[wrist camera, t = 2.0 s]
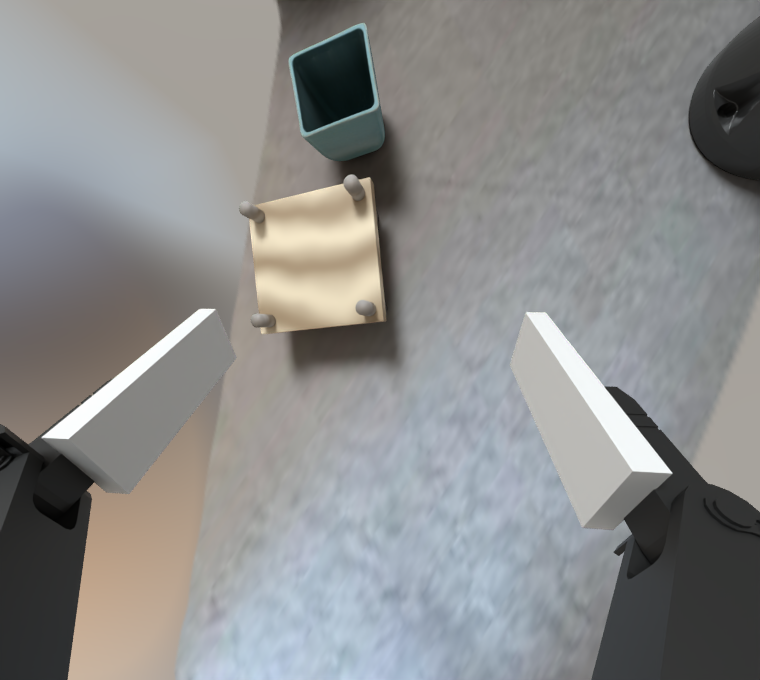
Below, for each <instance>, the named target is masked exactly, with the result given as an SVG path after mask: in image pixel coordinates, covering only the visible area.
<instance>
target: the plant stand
mask: <svg viewBox="0 0 760 680" xmlns="http://www.w3.org/2000/svg"><path fill="white" fill-rule="evenodd" d="M239 211H240V213H241V214H242V215H244V216H246V217H247V218H249V221H250V231H251V240H252V250H253V260H254V269H255V279H256V289H257V298H258V308H259V314H254V315H253V316H252V317H251V323H252V325H253V326H254V327H261V334H272V333H281V332H290V331H300V330H309V329H319V328H328V327H337V326H347V325H356V324H365V323H375V322H384V321H387V320H386V312H387V305H386V303H385V299H384V288H383V278H382V267H381V256H380V246H379V235H378V225H377V223H378V219H379V217H378V214H377V212H376V204H375V193H374V184H373V182H372V180H371V178H370V177H368V178H364V179H360V180H358V179H357V177H356V176H355V175H348V176H347V177H346V178H345V179H344V182H343V184H340V185H335V186H331V187H327V188H323V189H319V190H315V191H311V192H307V193H303V194H299V195H295V196H291V197H286V198H282V199H278V200H274V201H270V202H266V203H262V204H258V205H252V204H251V203H249V202H247V201H244V202H242V203H241V204H240V207H239Z"/></svg>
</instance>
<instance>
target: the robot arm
mask: <svg viewBox="0 0 760 680" xmlns="http://www.w3.org/2000/svg"><path fill="white" fill-rule="evenodd" d="M689 120H690V128H691V132H692V135H693V138H694V140H695V142H696V144H697V146H698V147H699V149H700V150H701V152H702V153H703V154H704V155H705V156H706V157H707V158H708V159H709V160H710V161H711V162H712V163H714V164H715V165H716V166H718V167H720V168H721V169H723V170H725V171H727V172H729V173H732V174H735V175H738V176H741V177H745V178H750V179H758V180H760V16H759V17H758V18H757V19H755V20H754V21H753V22H752V23H750V24H749V25H748V26H747V27H746V28H744V29H743V30H742V31H741V32H740V33H739V34H738V35H737V36H736V37H735V38H734V39H733V40H732V41H731V42H730V43H729V44H728V45H727V46H726V47H725V48H724V49H723V50H722V51H721V52H720V53H719V54H718V55H717V56H716V57H715V59H714V60H713V61H712V62H711V63H710V64H709V66H708V67H707V68H706V70H705V71H704V73H703V74H702V76H701V78H700V79H699V81H698V83H697V85H696V88H695V90H694V93H693V96H692V100H691V104H690V113H689ZM236 358H237V357H236V355H235V353H234V350H233V348H232V346H231V343H230V341H229V338H228V336H227V334H226V331H225V329H224V327H223V324H222V322H221V320H220V317H219V315H218V313H217V310H216V309H199V310H198V311H197V312H196V313H194V314H193V315H192V316H191V317H189V318H188V319H187V320H186V321H184V322H183V323H182V324H181V325H179V326H178V327H177V328H176V329H174V330H173V331H172V332H171V333H169V334H168V335H167V336H166V337H165V338H163V339H162V340H161V341H160V342H158V343H157V344H156V345H155V346H154V347H152V348H151V349H150V350H148V351H147V352H146V353H145V354H144V355H143V356H141V357H140V358H139V359H138V360H136V361H135V362H134V363H132V364H131V365H130V366H129V367H128V368H126V369H125V370H124V371H123V372H121V373H120V374H119V375H118V376H116V377H115V378H113V379H111V380H109V381H107V382H106V383H105V384H104V385H102V386H101V387H100V388H99V389H97V390H96V391H95V392H94V393H93V395H90V396H89V397H87V398H86V399H85V400H84V401H82V402H81V405H78V406H76V407H75V408H74V409H72V410H71V411H70V412H69V413H67V414H66V415H65V416H64V417H63V418H61V419H60V420H59V421H58V422H56V423H55V424H54V425H52V426H51V427H50V428H49V429H48V430H46V431H45V432H44V433H43V434H41V435H40V436H39V437H38V438H36V439H35V440H34V441H32V442H31V443H30V444H27V443H25V442H24V441H23V440H22V439H20V438H19V437H18V436H16V435H15V434H14V433H13V432H11V431H10V430H9V429H8V428H6V427H5V426H3V425H1V424H0V680H67V679H68V672H69V663H70V657H71V649H72V642H73V635H74V627H75V619H76V612H77V604H78V597H79V590H80V583H81V575H82V568H83V561H84V553H85V546H86V538H87V531H88V524H89V516H90V509H91V501H92V498H91V494H90V493H89V492H87V489H88V488H89V487H90V486H91V485H92V484H93V483H94V482H95V483H96V484H97V485H98V486H99V487H101V488H102V489H103V490H104V491H106V492H108V493H122V494H130V492H131V491H132V490H133V488H134V487H135V486H136V485H137V483H138V482H139V481H140V480H141V478H142V477H143V476H144V475H145V473H146V472H147V471H148V469H149V468H150V467H151V466H152V464H153V463H154V462H155V460H156V459H157V458H158V457H159V456H160V454H161V453H162V452H163V450H164V449H165V448H166V447H167V445H168V444H169V443H170V441H171V440H172V439H173V438H174V437H175V435H176V434H177V433H178V431H179V430H180V429H181V428H182V426H183V425H184V424H185V422H186V421H187V420H188V419H189V417H190V416H191V415H192V414H193V412H194V411H195V410H196V409H197V407H198V406H199V405H200V403H201V402H202V401H203V400H204V398H205V397H206V396H207V395H208V393H209V392H210V391H211V390H212V388H213V387H214V386H215V385H216V383H217V382H218V381H219V379H220V378H221V377H222V376H223V374H224V373H225V372H226V371H227V369H228V368H229V367H230V366H231V364H232V363H233V362H234V360H235V359H236ZM510 367H511V369H512V371H513V373H514V376H515V378H516V380H517V382H518V385H519V387H520V389H521V391H522V394H523V396H524V398H525V400H526V403H527V405H528V407H529V409H530V412H531V414H532V416H533V418H534V421H535V423H536V425H537V427H538V429H539V432H540V434H541V436H542V438H543V441H544V443H545V445H546V447H547V450H548V452H549V454H550V456H551V459H552V461H553V463H554V465H555V468H556V470H557V472H558V474H559V477H560V479H561V481H562V483H563V485H564V488H565V490H566V492H567V494H568V497H569V499H570V501H571V503H572V506H573V508H574V510H575V512H576V515H577V517H578V519H579V521H580V524H581V526H582V528H592V529H605V530H614V529H615V528H616V527H617V526H618V525H619V524H620V523H621V522H622V521H623V520H625V522H626V524H627V525H628V527H629V529H630V531H631V532H632V535H631V536H629V537H628V538H627V539H626V540H625V541H624V542H622V543H621V544H620V545H619V546H618V547H617V548H616V550H615V551H614V553H615V554H617V555H618V556H619V555H621V554H622V553H623V552H624V551H625V552H624V555H623V559H622V563H621V567H620V571H619V575H618V579H617V583H616V586H615V590H614V594H613V598H612V602H611V606H610V610H609V614H608V618H607V621H606V625H605V629H604V633H603V637H602V641H601V645H600V649H599V653H598V656H597V660H596V664H595V668H594V672H593V676H592V680H760V512H759V511H758V510H756V509H755V508H754V507H753V506H752V505H751V504H749V503H748V502H747V501H745V500H743V499H742V498H740V497H738V496H737V495H735V494H733V493H732V492H730V491H728V490H725V489H723V488H720V487H717V486H715V485H712V484H708V483H707V482H706V481H705V480H704V479H703V478H702V477H701V476H700V475H699V474H698V472H697V471H696V470H695V469H694V468H693V467H692V465H691V464H690V463H689V462H688V461H687V460H686V458H685V457H684V456H683V455H682V454H681V453H680V452H679V450H678V449H677V448H676V447H675V446H674V445H673V443H672V442H671V441H670V440H669V439H668V438H667V437H666V435H665V434H664V433H663V432H662V431H661V430H658V426H657V425H656V424H655V423H654V422H653V420H652V419H651V418H650V417H647V413H646V412H645V411H644V410H643V409H642V408H641V407H640V405H639V404H638V403H637V402H636V401H635V400H634V399H633V398H632V397H630V396H629V395H627V394H626V393H624V392H623V391H622V390H620V389H619V388H617V387H604V386H603V385H602V383H601V382H600V381H599V379H598V378H597V377H596V376H595V374H594V373H593V372H592V371H591V369H590V368H589V367H588V366H587V364H586V363H585V362H584V360H583V359H582V358H581V357H580V355H579V354H578V353H577V352H576V350H575V349H574V348H573V347H572V345H571V344H570V343H569V341H568V340H567V339H566V338H565V336H564V335H563V334H562V333H561V331H560V330H559V329H558V327H557V326H556V325H555V324H554V322H553V321H552V320H551V319H550V317H549V316H548V315H547V314H546V313H539V312H526V313H525V316H524V320H523V323H522V326H521V329H520V333H519V336H518V339H517V343H516V346H515V349H514V352H513V356H512V359H511V362H510Z"/></svg>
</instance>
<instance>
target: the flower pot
mask: <svg viewBox="0 0 760 680" xmlns="http://www.w3.org/2000/svg"><path fill="white" fill-rule="evenodd" d="M288 61H289V68H290V73H291V79H292V84H293V89H294V95H295V101H296V107H297V112H298V118H299V126H300V132H301V135H302V137H303V138H304V139H306V140H307V141H308V142H309V143H310V144H311V145H312V146H313V147H314V148H315V149H316V150H318V151H319V152H320V153H321V154H322V155H323V156H325V157H326V158H328V159H331V160H334V161H347V160H350V159H353V158H356V157H359V156H361V155H364V154H367V153H370V152H373V151H376V150H378V149H379V148H380V147H381V146H382V144H383V142H384V139H385V130H384V123H383V118H382V112H381V106H380V100H379V94H378V88H377V82H376V75H375V69H374V64H373V58H372V53H371V48H370V42H369V37H368V32H367V27H366V25H365V23H361V24H357V25H354V26H352V27H351V28H349V29H346V30H344V31H342V32H340V33H339V34H336V35H334V36H333V37H330V38H328V39H326V40H324V41H322V42H320V43H317V44H315V45H313V46H310V47H308V48H306V49H304V50H302V51H299V52H297V53H295V54H294V55H292V56H291V57H290V58H289V60H288Z"/></svg>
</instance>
